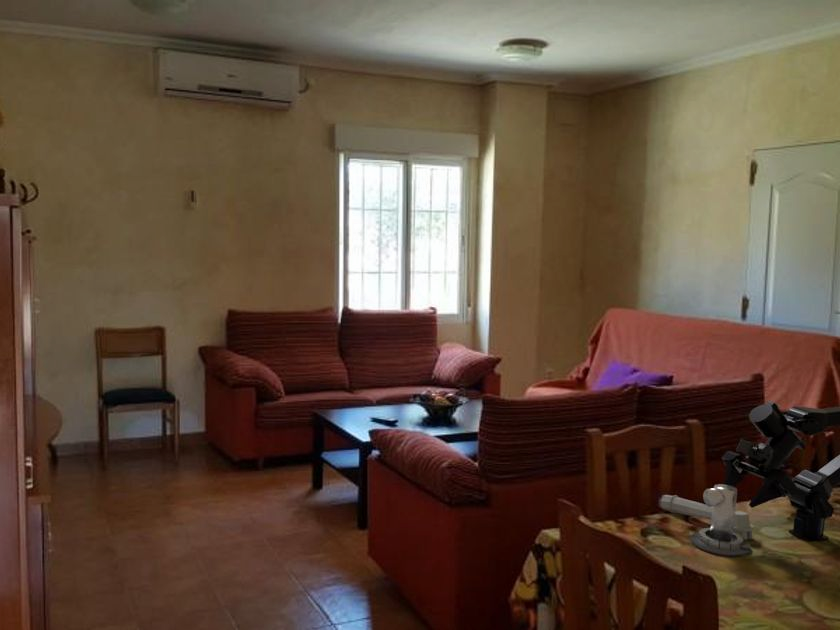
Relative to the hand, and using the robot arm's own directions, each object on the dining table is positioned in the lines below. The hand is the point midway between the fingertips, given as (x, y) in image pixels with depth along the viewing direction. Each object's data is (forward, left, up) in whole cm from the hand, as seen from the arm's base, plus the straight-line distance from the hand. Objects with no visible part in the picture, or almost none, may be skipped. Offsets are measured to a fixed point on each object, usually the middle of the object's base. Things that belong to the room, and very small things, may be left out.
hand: (735, 499), depth 183 cm
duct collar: (+3, 0, -11) cm, 11 cm away
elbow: (+3, 0, -10) cm, 10 cm away
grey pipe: (-3, -12, -11) cm, 17 cm away
